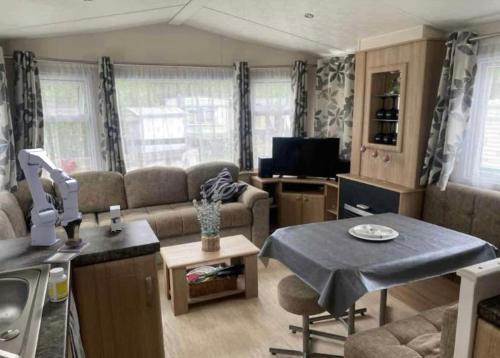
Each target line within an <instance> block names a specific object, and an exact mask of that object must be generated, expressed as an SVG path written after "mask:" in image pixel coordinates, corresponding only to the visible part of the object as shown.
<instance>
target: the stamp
mask: <svg viewBox="0 0 500 358" xmlns="http://www.w3.org/2000/svg"><path fill="white" fill-rule="evenodd" d="M66 236H67V235H66ZM66 239H67V240H66V241H64V243H65V244H64V245H65V246H77V245H79V244H80V243H81V242H83V238H82V237H80V228H79V227H78V225H76V226H75V229H74V238H73V239H68V236H67V238H66Z"/></svg>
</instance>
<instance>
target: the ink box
mask: <svg viewBox="0 0 500 358" xmlns="http://www.w3.org/2000/svg"><path fill="white" fill-rule="evenodd" d="M109 209H110V210H109V213H110V225H111V226H110V227H111V228H110V229H111V232H112V231H114V232H117V231H116V230H121V231H122V217H121V206H120V204H119V205H111V206H109Z"/></svg>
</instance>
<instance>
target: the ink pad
mask: <svg viewBox="0 0 500 358" xmlns="http://www.w3.org/2000/svg"><path fill="white" fill-rule="evenodd" d="M90 246H91V242H89V241H88V242H87V241H86V242H85V241H82V242H81V243H80V244H79V245H77V246H65V244H63V245H62V246H61V247H60V248H58V249H57V250H56V252H80V253H79V254H81V253H83V251H85V250H86V249H87V248H88V247H90Z"/></svg>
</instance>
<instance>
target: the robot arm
mask: <svg viewBox="0 0 500 358" xmlns="http://www.w3.org/2000/svg"><path fill="white" fill-rule="evenodd" d="M17 159H18V161H19V166H20V168H21V170H23V175H24V177H25V181H26V182H27V186H28V189H29V192H30V195H31V199H32V202H33V204H34V206H33V208H32V209H31V210H30V214H31V218H30V220H31V222H32V224H33V225H32V226H31V228H30V238H31V239H30V240H31V244H30V246H45V247H46V246H53V245H55V244H56V243H58V242H59V241H60V240H61V238H57V237H56V235H57V234H56V225H55V224H56V223H57V220H58V219H59V213H58V211H57V209H56V208H55V205H54V204H52V203H50V202H48V199H47V195H46V193H45V191H44V187H43V184H42V181H41V178H40V175H39V172H38V169H39V168H40V167H42V168H43V169H44V170H45V171H46V172H48V173H49V177H50V178H49V179H51V180H52V181H53V182H54V183H55V184H56V185H57V186H58V191H59V193H60V196H61V198H62V204H63V205H62V206H63V215H64V216H63V219H62V220H61V221H60V226H61V227H62V228H63V229H64V232H65V233H66V236H68V239H73V238H74V229H75V226H76V225H78V227H79V229H80V227H81V225H82V222H83V218H82V217H83V214H82V212H79V202H78V200H79V199H78V192H79V191H80V188H81V186H80V182H79V181H78V180H77V178H72V177H70V176H69V174H67V173H66V172H65V171H64V170H63V169H62V168H59V167H56V166H55V164H54V163H53V162H52V161H51V160H50V158H49V157H48V152H47V151H46V150H45V149H44V148H42V147H38V148H26V149H24V148H23V149H20V150H19V152H18V154H17ZM68 239H67V240H68Z"/></svg>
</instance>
